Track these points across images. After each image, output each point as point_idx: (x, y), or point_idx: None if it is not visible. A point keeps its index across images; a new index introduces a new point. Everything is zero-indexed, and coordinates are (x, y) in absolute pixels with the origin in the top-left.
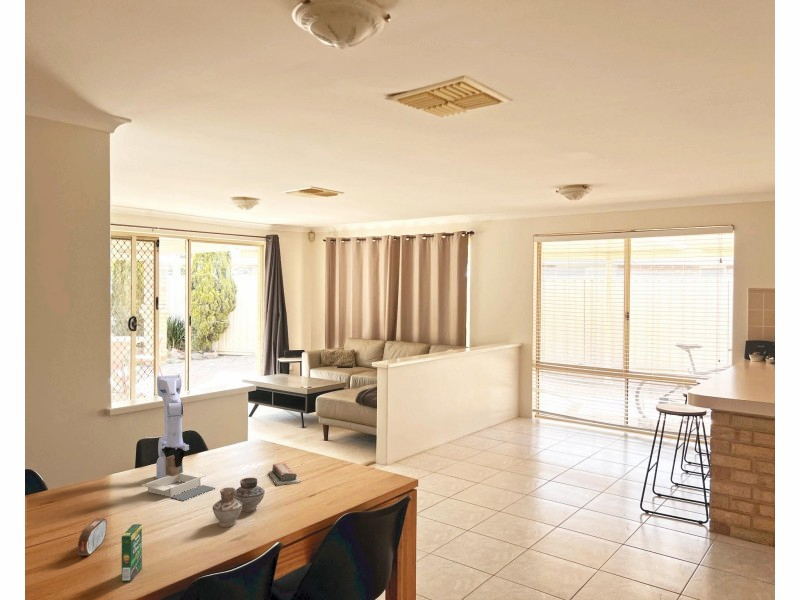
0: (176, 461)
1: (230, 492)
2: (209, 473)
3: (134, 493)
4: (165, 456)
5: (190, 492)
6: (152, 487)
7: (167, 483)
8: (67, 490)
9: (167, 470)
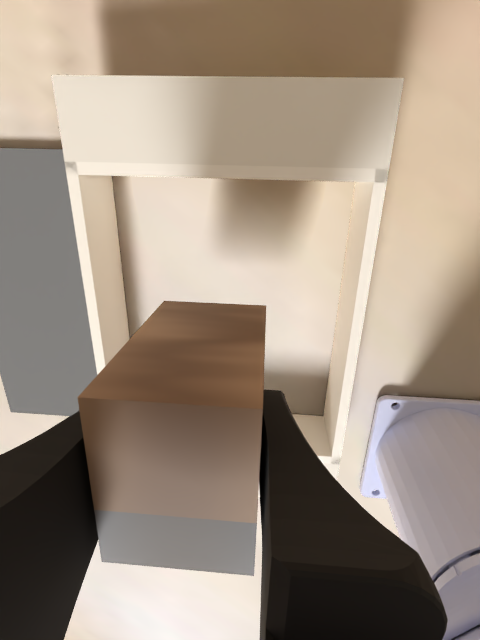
0: (72, 416)
1: None
2: (261, 558)
3: (446, 67)
4: (321, 462)
5: (51, 290)
6: (227, 82)
7: (335, 343)
8: None
9: (232, 321)
